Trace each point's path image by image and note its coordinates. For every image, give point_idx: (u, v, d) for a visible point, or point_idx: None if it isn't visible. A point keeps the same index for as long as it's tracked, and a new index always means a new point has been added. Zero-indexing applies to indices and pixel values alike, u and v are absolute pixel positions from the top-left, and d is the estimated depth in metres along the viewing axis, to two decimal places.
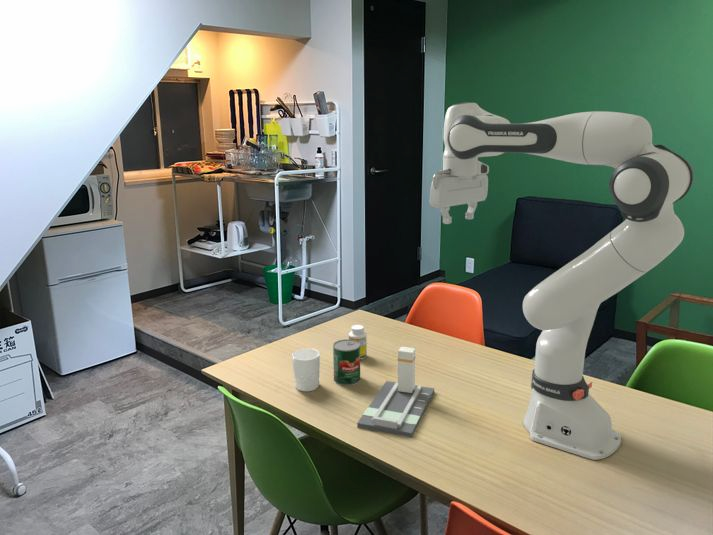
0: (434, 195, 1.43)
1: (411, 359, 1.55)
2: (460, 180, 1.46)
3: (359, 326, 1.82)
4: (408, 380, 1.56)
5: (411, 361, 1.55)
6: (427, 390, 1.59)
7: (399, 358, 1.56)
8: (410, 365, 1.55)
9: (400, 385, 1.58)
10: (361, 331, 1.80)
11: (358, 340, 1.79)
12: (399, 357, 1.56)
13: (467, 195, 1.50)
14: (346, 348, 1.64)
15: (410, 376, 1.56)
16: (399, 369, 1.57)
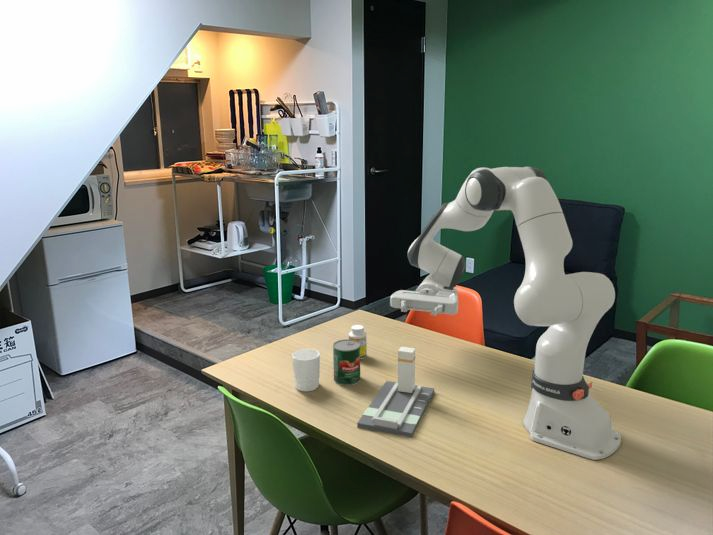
0: None
1: (411, 359, 1.55)
2: (419, 291, 1.75)
3: (359, 326, 1.82)
4: (408, 380, 1.56)
5: (411, 361, 1.55)
6: (427, 390, 1.59)
7: (399, 358, 1.56)
8: (410, 365, 1.55)
9: (400, 385, 1.58)
10: (361, 331, 1.80)
11: (358, 340, 1.79)
12: (399, 357, 1.56)
13: (428, 298, 1.70)
14: (346, 348, 1.64)
15: (410, 376, 1.56)
16: (399, 369, 1.57)
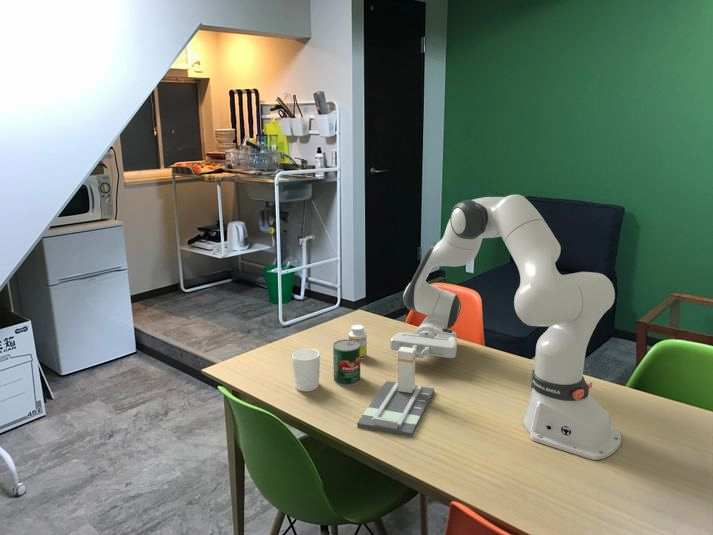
0: None
1: (411, 359, 1.55)
2: (419, 334, 1.78)
3: (359, 326, 1.82)
4: (408, 380, 1.56)
5: (411, 361, 1.55)
6: (427, 390, 1.59)
7: (399, 358, 1.56)
8: (410, 365, 1.55)
9: (400, 385, 1.58)
10: (361, 331, 1.80)
11: (358, 340, 1.79)
12: (399, 357, 1.56)
13: (427, 341, 1.73)
14: (346, 348, 1.64)
15: (410, 376, 1.56)
16: (399, 369, 1.57)
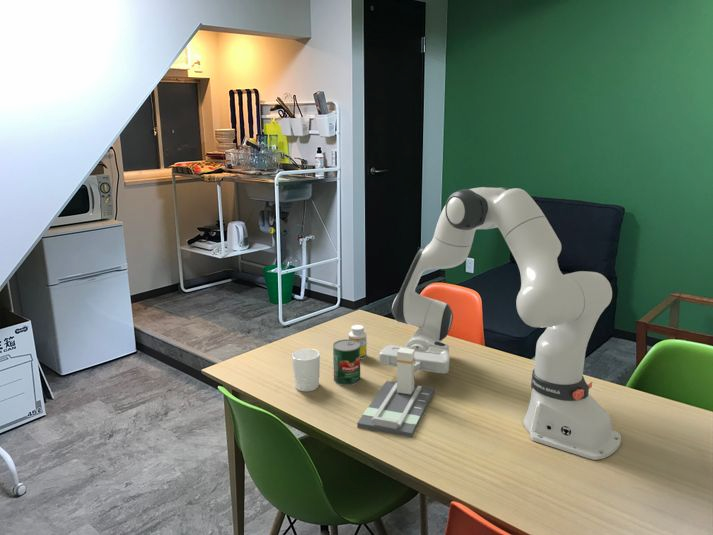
0: None
1: (410, 360, 1.54)
2: (409, 347, 1.69)
3: (359, 326, 1.82)
4: (407, 381, 1.56)
5: (410, 362, 1.54)
6: (427, 390, 1.59)
7: (398, 359, 1.55)
8: (409, 366, 1.54)
9: (400, 386, 1.57)
10: (361, 331, 1.80)
11: (358, 340, 1.79)
12: (398, 358, 1.55)
13: (418, 355, 1.64)
14: (346, 348, 1.64)
15: (409, 377, 1.55)
16: (398, 370, 1.56)
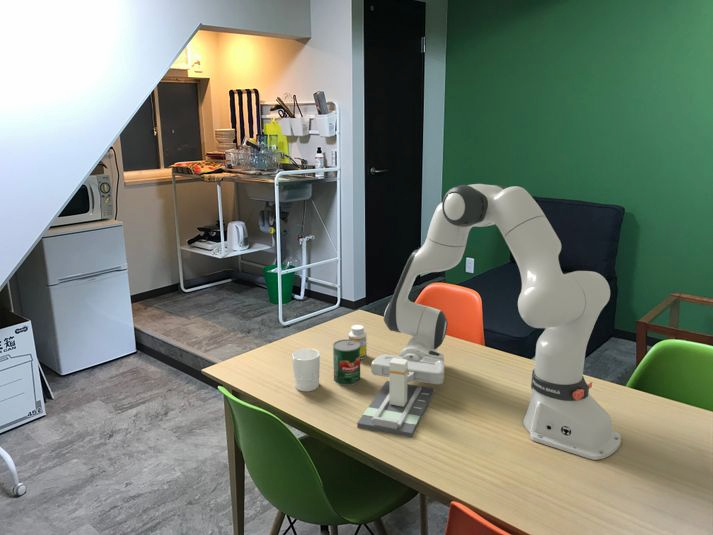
0: None
1: (403, 371, 1.48)
2: (403, 356, 1.62)
3: (359, 326, 1.82)
4: (400, 393, 1.50)
5: (403, 373, 1.48)
6: (427, 390, 1.59)
7: (391, 370, 1.49)
8: (402, 377, 1.48)
9: (392, 398, 1.51)
10: (361, 331, 1.80)
11: (358, 340, 1.79)
12: (391, 369, 1.49)
13: (412, 365, 1.58)
14: (346, 348, 1.64)
15: (402, 389, 1.49)
16: (390, 381, 1.50)
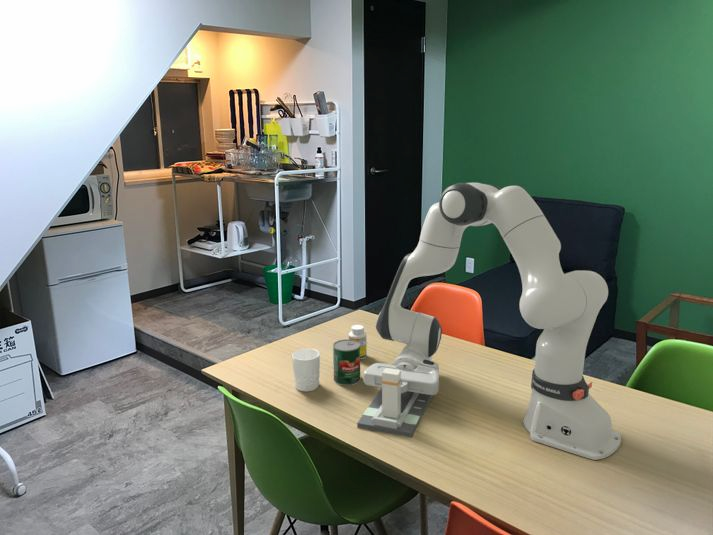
0: None
1: (396, 382, 1.42)
2: (396, 365, 1.57)
3: (359, 326, 1.82)
4: (393, 404, 1.44)
5: (396, 384, 1.42)
6: None
7: (383, 381, 1.43)
8: (395, 388, 1.43)
9: (385, 409, 1.45)
10: (361, 331, 1.80)
11: (358, 340, 1.79)
12: (383, 379, 1.43)
13: (405, 375, 1.52)
14: (346, 348, 1.64)
15: (395, 400, 1.43)
16: (383, 392, 1.44)
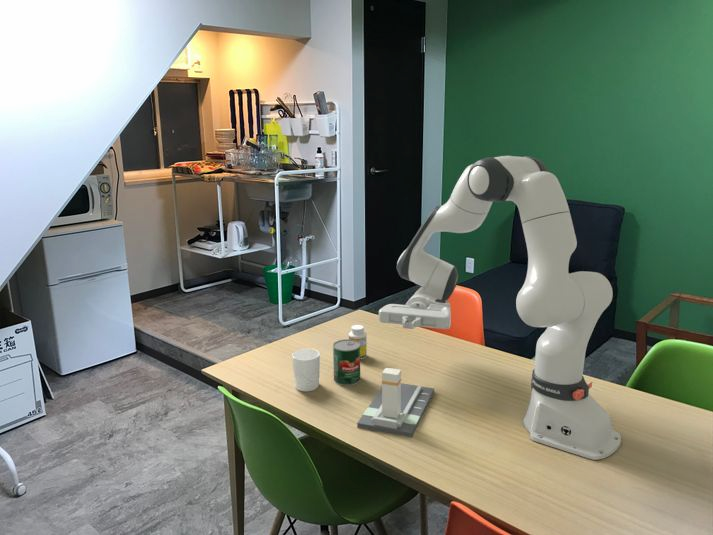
0: None
1: (396, 382, 1.42)
2: (410, 305, 1.65)
3: (359, 326, 1.82)
4: (393, 404, 1.44)
5: (396, 384, 1.42)
6: (427, 390, 1.59)
7: (383, 381, 1.43)
8: (395, 388, 1.43)
9: (385, 409, 1.45)
10: (361, 331, 1.80)
11: (358, 340, 1.79)
12: (383, 379, 1.43)
13: (418, 311, 1.60)
14: (346, 348, 1.64)
15: (395, 400, 1.43)
16: (383, 392, 1.44)
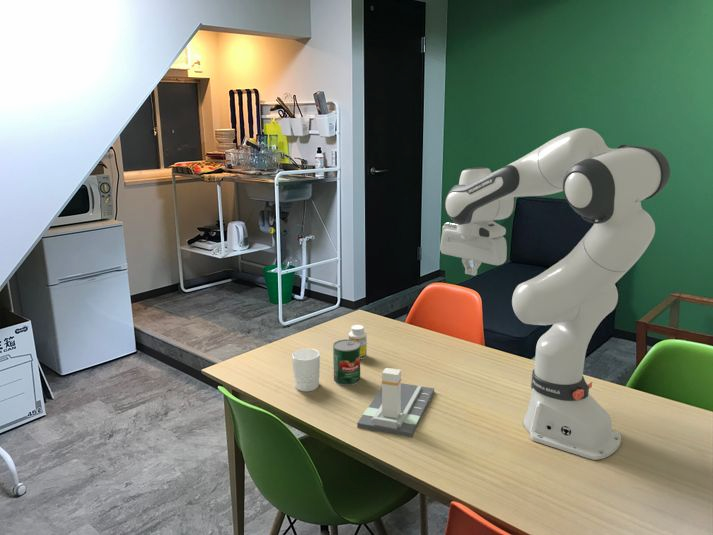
0: None
1: (396, 382, 1.42)
2: (461, 236, 1.60)
3: (359, 326, 1.82)
4: (393, 404, 1.44)
5: (396, 384, 1.42)
6: (427, 390, 1.59)
7: (383, 381, 1.43)
8: (395, 388, 1.43)
9: (385, 409, 1.45)
10: (361, 331, 1.80)
11: (358, 340, 1.79)
12: (383, 379, 1.43)
13: (471, 252, 1.58)
14: (346, 348, 1.64)
15: (395, 400, 1.43)
16: (383, 392, 1.44)
